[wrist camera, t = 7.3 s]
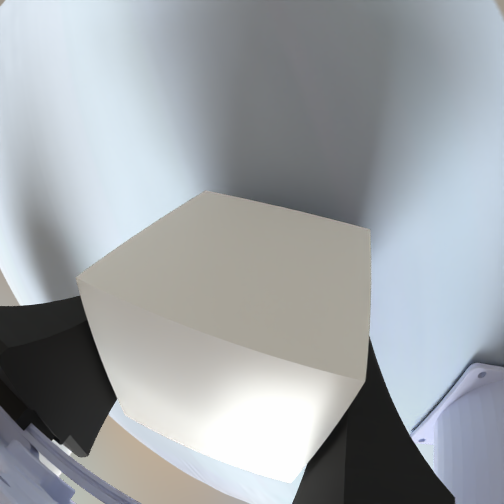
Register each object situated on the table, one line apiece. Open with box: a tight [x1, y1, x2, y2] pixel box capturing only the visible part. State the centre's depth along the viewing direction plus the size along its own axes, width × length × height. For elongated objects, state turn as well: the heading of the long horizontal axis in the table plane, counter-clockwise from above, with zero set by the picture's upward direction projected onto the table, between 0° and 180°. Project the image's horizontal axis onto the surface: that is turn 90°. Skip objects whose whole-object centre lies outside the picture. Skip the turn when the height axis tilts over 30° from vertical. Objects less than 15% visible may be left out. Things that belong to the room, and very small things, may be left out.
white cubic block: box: [75, 190, 371, 483], centre depth 9 cm, size 6×6×6 cm
